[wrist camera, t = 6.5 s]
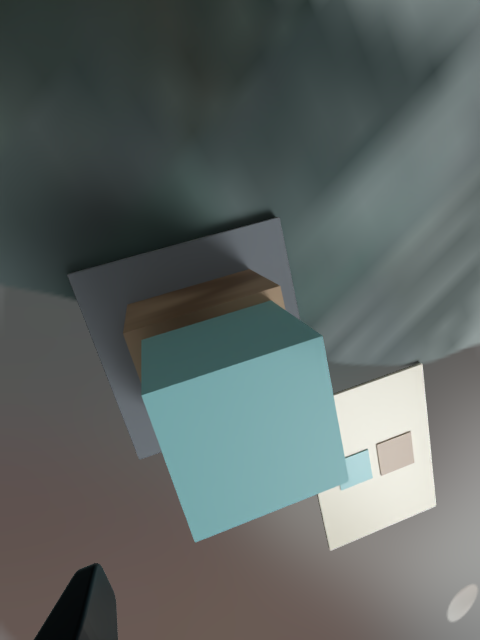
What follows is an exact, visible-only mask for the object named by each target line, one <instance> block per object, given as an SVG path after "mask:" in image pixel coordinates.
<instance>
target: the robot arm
mask: <svg viewBox="0 0 480 640" xmlns="http://www.w3.org/2000/svg"><path fill="white" fill-rule="evenodd" d="M34 640H118V632H117V612H116V599H115V595H114V591H113V589H112V587H111V585H110V583H109V581H108V579H107V577H106V574H105V572H104V570H103V568H102V567H101V565H100V564H98V563H94V564H92V565H89V566H87V567H84V568H82V569H79V570H78V571H77V572H76V573H75V574H74V576H73V577H72V579H71V580H70V582H69V584H68V585H67V587H66V589H65V590H64V592H63V593H62V595H61V597H60V599H59V600H58V602H57V603H56V605H55V606H54V608H53V610H52V611H51V613H50V615H49V616H48V618H47V619H46V621H45V623H44V624H43V626H42V627H41V629H40V631H39V632H38V634H37V635H36V637H35V639H34Z"/></svg>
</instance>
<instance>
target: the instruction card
mask: <svg viewBox="0 0 480 640" xmlns="http://www.w3.org/2000/svg"><path fill="white" fill-rule="evenodd" d="M333 396H334V401H335V406H336V412H337V417H338V423H339V428H340V434H341V439H342V445H343V450H344V455H345V461H346V466H347V472H348V477H349V482H347V483H344V484H341V485H339V486H336V487H334V488H331V489H329V490H326V491H324V492H321V493H319V494H317V497H318V501H319V506H320V510H321V515H322V519H323V524H324V528H325V533H326V537H327V542H328V547H329V549H330V550H333V549H336V548H338V547H341V546H343V545H345V544H347V543H350V542H352V541H354V540H357V539H359V538H362V537H364V536H366V535H369V534H371V533H373V532H376V531H378V530H381V529H383V528H385V527H388V526H390V525H392V524H395V523H397V522H399V521H402V520H404V519H406V518H409V517H411V516H414V515H416V514H418V513H421V512H423V511H425V510H428V509H430V508H432V507H435V506H436V499H435V488H434V478H433V468H432V458H431V447H430V437H429V427H428V417H427V407H426V396H425V386H424V376H423V366H422V364H421V363H418V364H415V365H413V366H410V367H407V368H404V369H401V370H399V371H396V372H393V373H390V374H387V375H384V376H382V377H379V378H376V379H373V380H371V381H368V382H365V383H362V384H359V385H356V386H354V387H351V388H348V389H345V390H342V391H340V392H337V393H334V394H333Z"/></svg>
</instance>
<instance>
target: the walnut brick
mask: <svg viewBox="0 0 480 640" xmlns="http://www.w3.org/2000/svg"><path fill="white" fill-rule="evenodd" d="M270 300H271V301H273V302H274V303H276V304H277V305H279V306H280V307H282V308H283V309H284V310H285V305H284V300H283V296H282V291H281V286H280V285H278V284H276V283H274V282H272V281H271V280H269V279H267V278H265V277H263V276H261V275H260V274H258V273H256V272H254V271H252V270H250V269H248V270H245V271H241V272H238V273H234V274H231V275H227V276H224V277H221V278H217V279H214V280H210V281H207V282H203V283H200V284H197V285H193V286H190V287H186V288H183V289H179V290H176V291H172V292H169V293H166V294H162V295H159V296H155V297H152V298H148V299H145V300H142V301H138V302H135V303H131V304H128V305H127V310H126V316H125V323H124V330H123V335H124V338H125V340H126V343H127V346H128V349H129V352H130V354H131V357H132V360H133V363H134V365H135V368H136V371H137V374H138V376H139V379H140V382H141V340H143V339H146V338H150V337H153V336H156V335H159V334H163V333H166V332H169V331H172V330H176V329H179V328H182V327H185V326H189V325H192V324H195V323H198V322H202V321H205V320H208V319H212V318H215V317H218V316H221V315H225V314H228V313H231V312H234V311H238V310H241V309H244V308H247V307H251V306H254V305H257V304H261V303H264V302H267V301H270Z"/></svg>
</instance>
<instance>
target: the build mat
mask: <svg viewBox="0 0 480 640" xmlns="http://www.w3.org/2000/svg"><path fill="white" fill-rule="evenodd" d="M248 269H250V270H252V271H254V272H256V273H258V274H260V275H261V276H263V277H265V278H267V279H269V280H271V281H272V282H274V283H276V284H278V285H280V286H281V291H282V296H283V300H284V305H285V310H286V311H287V312H289V313H290V314H292V315H293V316H295V317H296V318H297V319H299V320H300V317H299V312H298V307H297V302H296V297H295V292H294V287H293V282H292V277H291V272H290V267H289V262H288V257H287V252H286V247H285V242H284V237H283V232H282V227H281V222H280V217H275V218H271V219H267V220H264V221H260V222H256V223H253V224H249V225H245V226H242V227H238V228H234V229H231V230H227V231H223V232H220V233H216V234H212V235H209V236H205V237H201V238H197V239H194V240H190V241H186V242H183V243H179V244H175V245H172V246H168V247H164V248H161V249H157V250H153V251H150V252H146V253H142V254H139V255H135V256H131V257H128V258H124V259H120V260H117V261H113V262H109V263H106V264H102V265H98V266H95V267H91V268H87V269H84V270H80V271H76V272H73V273H69V274H68V275H67V276H68V279H69V281H70V284H71V286H72V289H73V291H74V294H75V297H76V299H77V302H78V304H79V307H80V309H81V312H82V314H83V317H84V319H85V322H86V324H87V327H88V329H89V332H90V335H91V337H92V340H93V343H94V345H95V348H96V350H97V353H98V355H99V358H100V360H101V363H102V365H103V368H104V371H105V373H106V376H107V378H108V381H109V383H110V386H111V388H112V391H113V393H114V396H115V399H116V401H117V404H118V406H119V409H120V412H121V414H122V417H123V419H124V422H125V424H126V427H127V429H128V432H129V435H130V437H131V440H132V442H133V445H134V447H135V450H136V452H137V455H138V457H139V459H143V458H146V457H148V456H151V455H154V454H157V453H160V452H162V451H161V448H160V445H159V442H158V440H157V437H156V434H155V431H154V429H153V426H152V423H151V420H150V418H149V415H148V412H147V410H146V407H145V404H144V401H143V399H142V396H141V382H140V379H139V376H138V374H137V371H136V368H135V365H134V363H133V360H132V357H131V354H130V352H129V349H128V346H127V343H126V340H125V338H124V335H123V330H124V323H125V316H126V310H127V305H128V304H131V303H135V302H138V301H142V300H145V299H148V298H152V297H155V296H159V295H162V294H166V293H169V292H172V291H176V290H179V289H183V288H186V287H190V286H193V285H197V284H200V283H203V282H207V281H210V280H214V279H217V278H221V277H224V276H227V275H231V274H234V273H238V272H241V271H245V270H248Z"/></svg>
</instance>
